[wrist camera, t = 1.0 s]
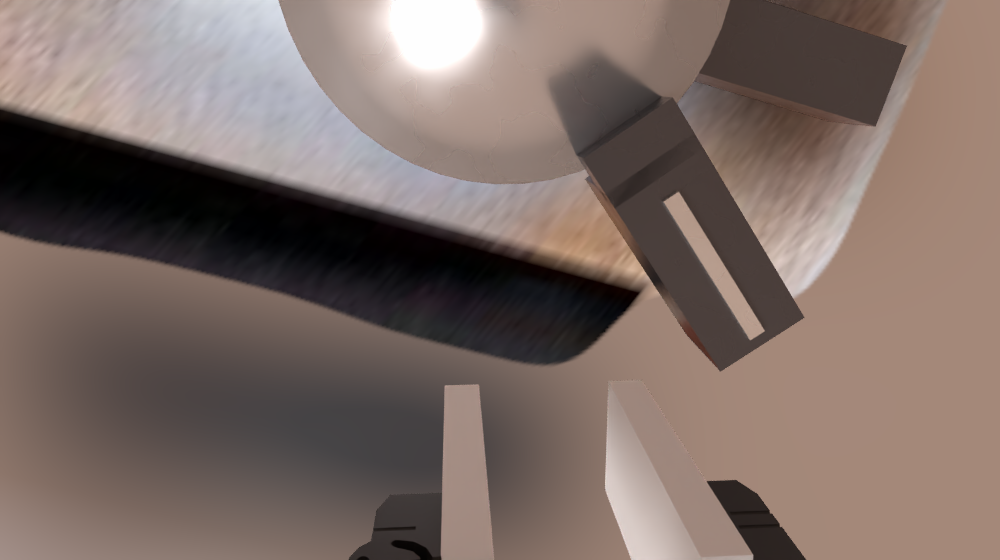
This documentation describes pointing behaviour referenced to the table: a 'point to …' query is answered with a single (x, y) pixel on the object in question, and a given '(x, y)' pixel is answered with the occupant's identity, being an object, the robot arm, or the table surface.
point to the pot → (802, 63)
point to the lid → (562, 127)
